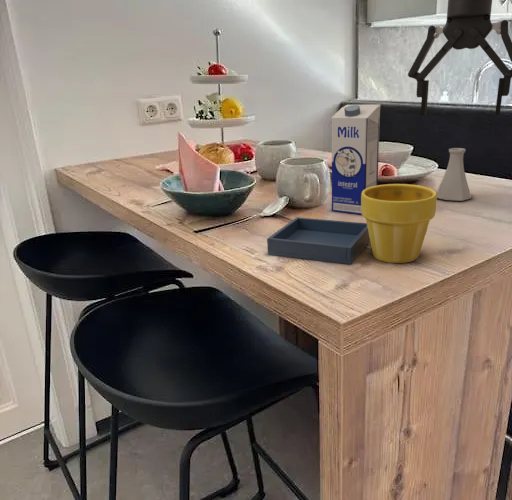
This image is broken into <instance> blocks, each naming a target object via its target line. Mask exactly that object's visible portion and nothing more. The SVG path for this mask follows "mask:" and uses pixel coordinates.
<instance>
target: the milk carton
mask: <svg viewBox="0 0 512 500" xmlns="http://www.w3.org/2000/svg"><path fill="white" fill-rule="evenodd" d="M381 106H382V105H381V104H379V103H378V104H377V103H376V104H375V103H374V104H370V103H369V104H346V105H344V106H342V107H341V108H340V109H339V110H337V111H336V112H335V113H334V114H333V115H332V116H331V212H336V213H344V214H353V215H362V213H361V193H362V191H363V190H364V189H366V188H369V187H372V186H377V185H379V184H378V183H379V154H380V153H379V152H380V151H379V150H380V124H381V122H380V121H381V120H380V119H381ZM362 216H363V215H362Z"/></svg>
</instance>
